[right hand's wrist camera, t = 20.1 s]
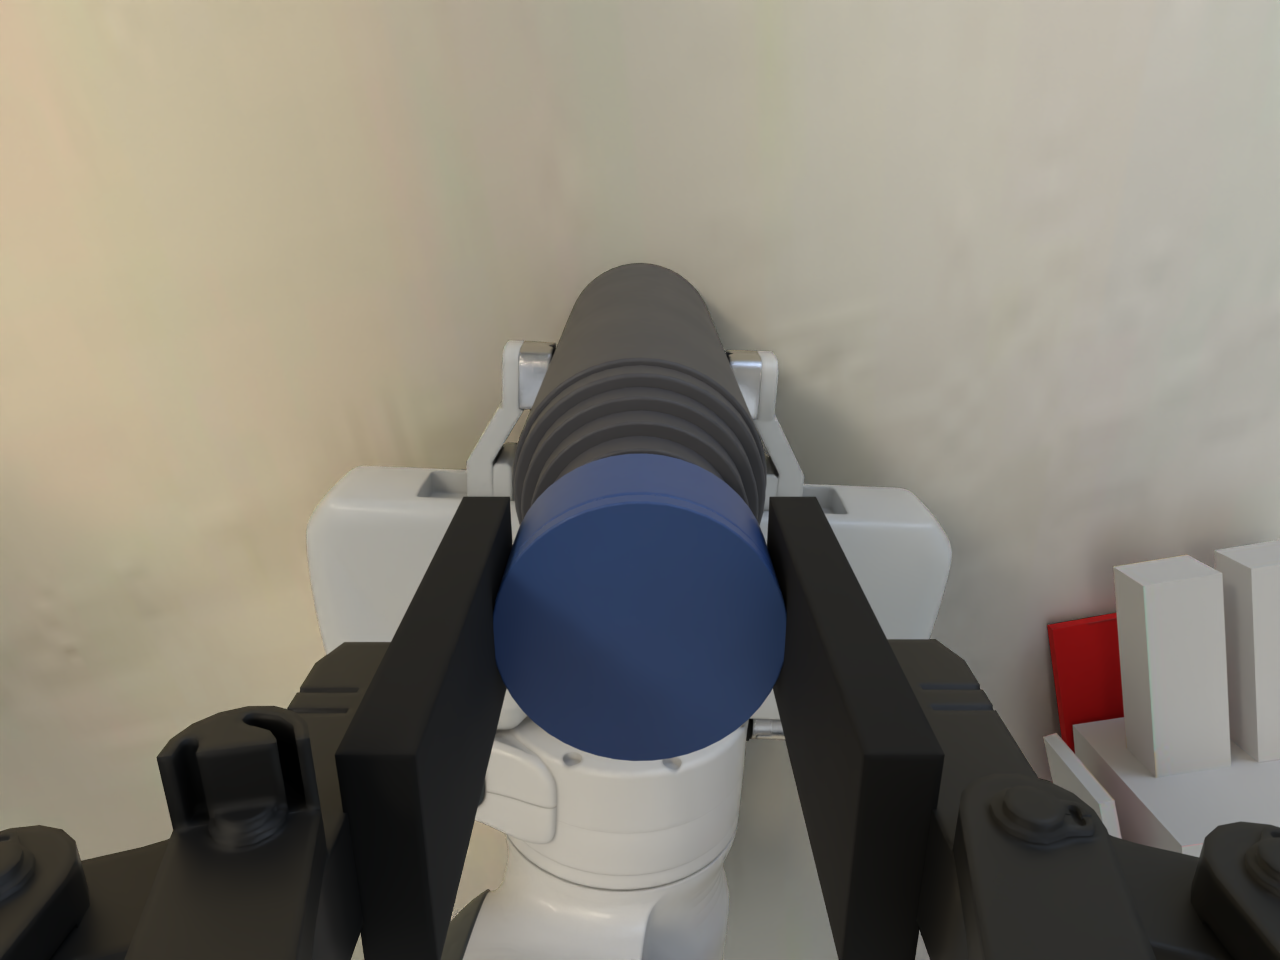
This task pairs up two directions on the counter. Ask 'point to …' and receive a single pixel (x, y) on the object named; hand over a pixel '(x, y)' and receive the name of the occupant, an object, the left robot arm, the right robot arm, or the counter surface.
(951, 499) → the counter surface
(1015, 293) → the counter surface
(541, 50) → the counter surface
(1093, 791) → the toy
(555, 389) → the bottle
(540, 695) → the cap
